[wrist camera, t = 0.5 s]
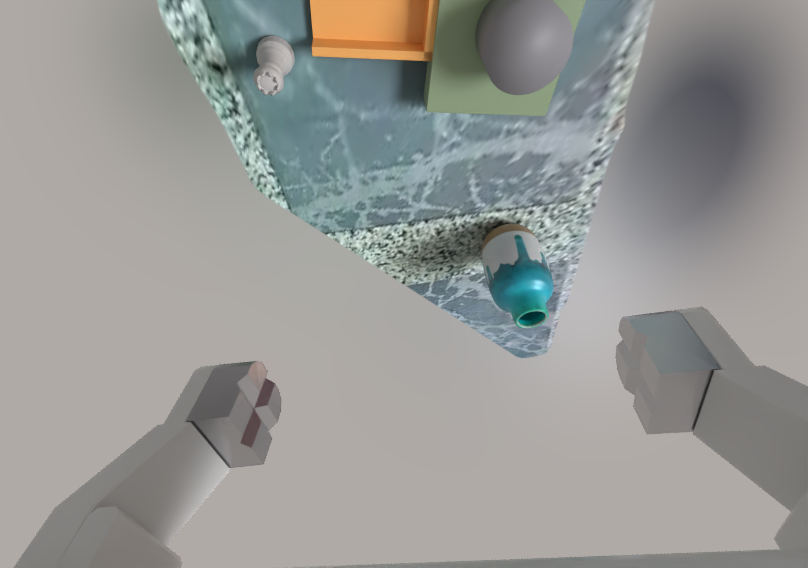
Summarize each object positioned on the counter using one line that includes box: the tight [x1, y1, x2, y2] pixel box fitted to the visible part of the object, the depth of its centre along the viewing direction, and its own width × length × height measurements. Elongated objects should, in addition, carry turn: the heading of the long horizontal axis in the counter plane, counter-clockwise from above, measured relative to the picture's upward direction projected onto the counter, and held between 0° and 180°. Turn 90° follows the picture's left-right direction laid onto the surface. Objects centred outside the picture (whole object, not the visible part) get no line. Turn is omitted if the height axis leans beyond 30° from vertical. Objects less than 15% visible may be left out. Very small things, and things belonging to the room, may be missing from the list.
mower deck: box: [310, 0, 586, 116], centre depth 46 cm, size 30×20×10 cm, turn 86°
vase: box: [481, 224, 553, 328], centre depth 72 cm, size 11×11×19 cm
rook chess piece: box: [253, 36, 295, 96], centre depth 49 cm, size 4×4×8 cm
